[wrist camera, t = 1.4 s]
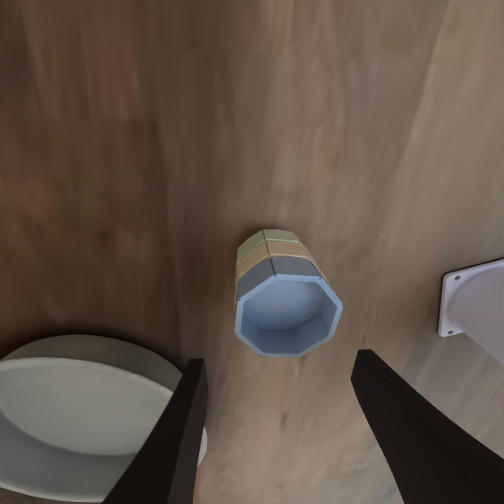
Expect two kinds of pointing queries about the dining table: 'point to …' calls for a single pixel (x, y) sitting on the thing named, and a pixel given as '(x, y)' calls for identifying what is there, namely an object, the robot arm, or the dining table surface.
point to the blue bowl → (285, 308)
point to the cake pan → (78, 414)
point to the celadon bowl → (264, 237)
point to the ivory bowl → (270, 251)
